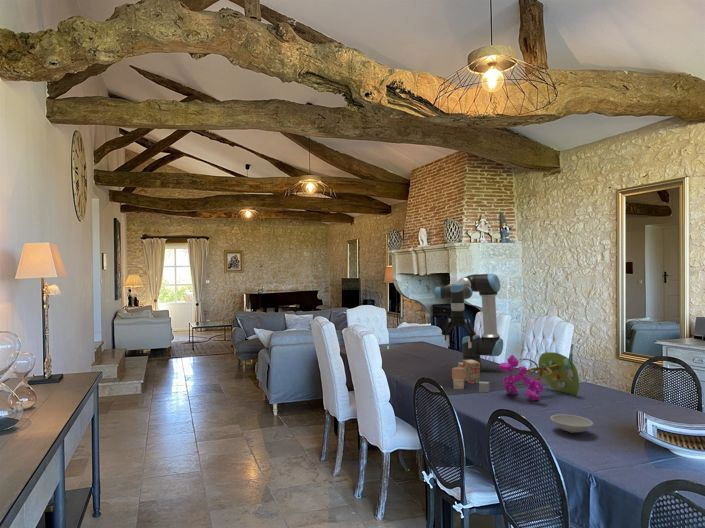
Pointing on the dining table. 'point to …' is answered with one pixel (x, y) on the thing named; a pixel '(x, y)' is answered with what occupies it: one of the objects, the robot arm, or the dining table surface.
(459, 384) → the beech block
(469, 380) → the stack of blocks
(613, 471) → the dining table surface
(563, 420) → the dish
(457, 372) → the terracotta cube
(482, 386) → the grey cube
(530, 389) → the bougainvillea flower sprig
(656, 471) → the dining table surface
